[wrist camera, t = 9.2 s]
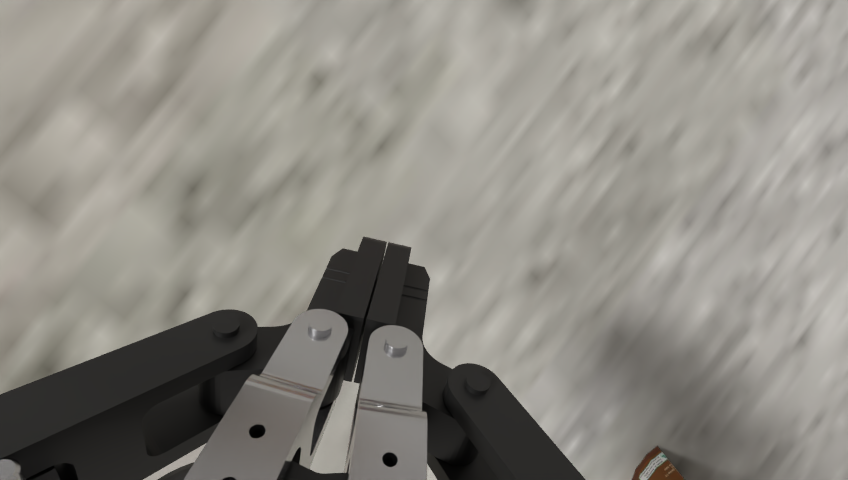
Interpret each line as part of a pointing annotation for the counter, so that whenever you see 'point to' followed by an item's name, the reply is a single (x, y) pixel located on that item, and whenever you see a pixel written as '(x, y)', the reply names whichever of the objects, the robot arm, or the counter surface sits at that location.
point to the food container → (656, 468)
